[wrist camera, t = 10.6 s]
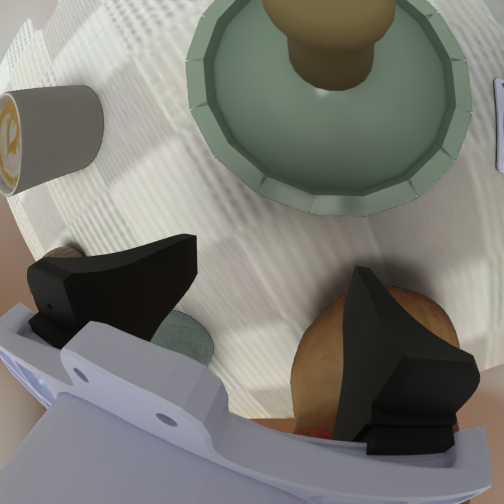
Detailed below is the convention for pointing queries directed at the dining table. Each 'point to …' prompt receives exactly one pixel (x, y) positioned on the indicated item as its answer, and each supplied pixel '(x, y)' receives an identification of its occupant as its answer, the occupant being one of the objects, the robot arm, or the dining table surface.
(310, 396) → the butternut squash
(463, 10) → the dining table surface
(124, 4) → the dining table surface
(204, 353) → the teal tapered cup
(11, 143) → the coffee mug
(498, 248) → the dining table surface
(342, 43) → the olive brown knobbed peg
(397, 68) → the round tray
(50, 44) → the dining table surface
